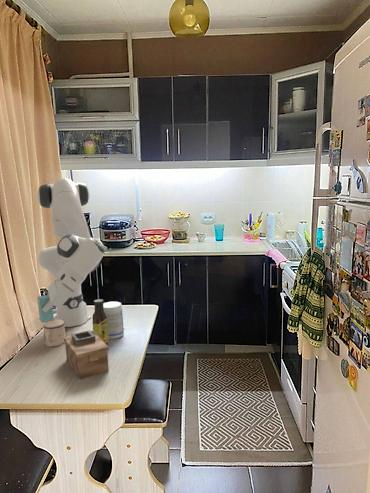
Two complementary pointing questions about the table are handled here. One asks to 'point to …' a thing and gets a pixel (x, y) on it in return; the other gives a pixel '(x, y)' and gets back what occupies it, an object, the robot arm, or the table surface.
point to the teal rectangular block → (43, 315)
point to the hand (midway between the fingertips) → (43, 308)
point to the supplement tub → (114, 319)
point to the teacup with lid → (54, 332)
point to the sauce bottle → (100, 321)
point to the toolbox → (86, 353)
